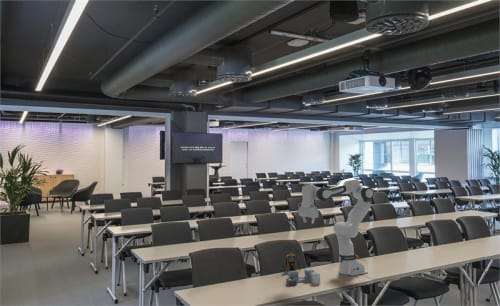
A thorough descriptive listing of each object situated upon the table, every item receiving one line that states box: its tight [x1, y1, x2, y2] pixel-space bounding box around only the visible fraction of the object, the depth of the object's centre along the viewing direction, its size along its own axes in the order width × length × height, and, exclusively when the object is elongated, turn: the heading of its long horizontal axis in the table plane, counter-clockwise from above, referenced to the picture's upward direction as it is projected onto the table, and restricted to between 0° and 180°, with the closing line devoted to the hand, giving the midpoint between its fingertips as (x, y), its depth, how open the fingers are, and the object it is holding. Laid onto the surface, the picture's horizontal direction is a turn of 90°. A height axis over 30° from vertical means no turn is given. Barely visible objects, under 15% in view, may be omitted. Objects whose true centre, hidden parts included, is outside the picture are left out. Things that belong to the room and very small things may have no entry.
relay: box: [286, 279, 298, 287], centre depth 280 cm, size 6×4×4 cm, turn 109°
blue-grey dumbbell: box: [285, 268, 316, 283], centre depth 289 cm, size 22×7×7 cm, turn 101°
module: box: [311, 271, 321, 285], centre depth 282 cm, size 4×5×7 cm
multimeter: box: [282, 245, 301, 274], centre depth 314 cm, size 15×10×20 cm
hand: (308, 222), depth 299 cm, fingers open, 8 cm apart
